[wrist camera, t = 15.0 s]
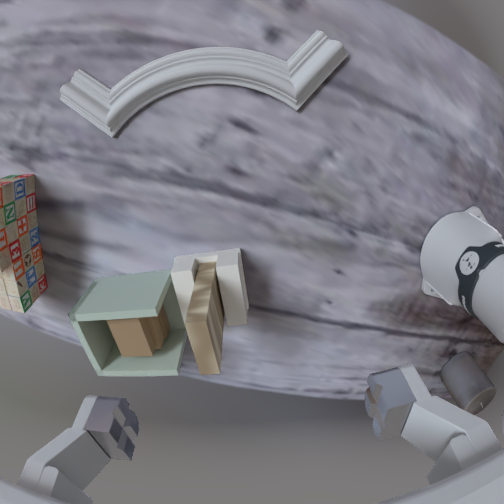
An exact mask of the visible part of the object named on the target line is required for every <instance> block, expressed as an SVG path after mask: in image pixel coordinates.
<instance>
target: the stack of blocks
mask: <svg viewBox="0 0 504 504" xmlns="http://www.w3.org/2000/svg"><path fill="white" fill-rule="evenodd" d="M47 288H48V287H47V282H46V277H45V270H44V264H43V259H42V251H41V244H40V238H39V230H38V222H37V212H36V196H35V175H34V174H31V175H10V176H7V177H4V178H2V179H0V306H1V308H4V309H8V310H11V311H12V310H13V311H16V312H21V313H25V312H26V311H27V310H28V309H29V308H30V307H31V306H32V304H33V303H34V302H35V301H36V300H37V298H38V297H39V296H40V295H41V294H42V293H43V292H44V291H45V290H46V289H47Z"/></svg>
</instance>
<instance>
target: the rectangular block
mask: <svg viewBox="0 0 504 504" xmlns="http://www.w3.org/2000/svg"><path fill="white" fill-rule="evenodd" d="M224 313H225V311H224V306H223V302H222V297H221V292H220V287H219V282H218V277H217V272H216V261H215V262H207V263H200V265H199V269H198V273H197V276H196V280H195V284H194V288H193V291H192V295H191V299H190V303H189V307H188V311H187V315H186V319H185V323H184V324H185V327H186V330H187V334H188V337H189V340H190V343H191V347H192V350H193V353H194V356H195V359H196V362H197V365H198V368H199V371H200V374H201V375H208V374H220V368H221V353H222V339H223V326H224Z"/></svg>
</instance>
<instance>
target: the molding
mask: <svg viewBox="0 0 504 504" xmlns="http://www.w3.org/2000/svg"><path fill="white" fill-rule="evenodd" d="M347 56H348V54H347V53H346V52H345V49H344V46H343V45H342V44H341V43H340V42H339V41H336V40H330V39H329V38H328V36H326V35H325V34H324V33H323V32H322V31H319V30H317V31H316V32H315V33H314V34H313V35H312V36H311V37H310V38H309V39H308V40H307V41H306V42H305V43H304V44H303V45H302V46H301V47H300V48H299V50H298V51H297V52H296V53H295V54H294V55H293V56H292V57H291V58H290V59H289V60H288V61H287V62H286V61H284V60H282V59H279V58H277V57H274V56H271V55H268V54H265V53H261V52H257V51H253V50H248V49H241V48H232V47H207V48H198V49H191V50H186V51H181V52H178V53H174V54H171V55H168V56H165V57H162V58H160V59H157V60H155V61H153V62H150V63H148V64H146V65H144V66H143V67H141V68H139V69H137V70H136V71H134V72H133V73H131V74H130V75H128V76H127V77H125V78H124V79H123V80H121V81H120V82H119V83H118V84H116V85H115V86H114V87H113V88H112V89H110V88H108V87H107V86H105V85H104V84H102V83H101V82H99V81H98V80H96V79H95V78H93V77H92V76H90V75H89V74H87V73H86V72H84V71H83V70H81V69H78V71H76V72H75V73H74V76H73V77H72V80H71V81H70V82H68V83H66V84H64V85H63V86H62V87H61V89H60V93H61V94H60V95H61V98H60V100H61V101H62V102H64V103H65V104H66V105H68V106H69V107H71V108H72V109H73V110H75V111H76V112H78V113H79V114H80V115H82V116H83V117H84V118H86V119H87V120H89V121H90V122H91V123H93V124H94V125H95V126H97V127H98V128H99V129H101V130H102V131H104V132H105V133H106V134H108V135H109V136H110V137H112V138H113V137H114V136H115V135H116V133H117V132H118V131H119V130H120V128H121V127H122V126H123V125H124V124H125V123H126V122H127V121H128V120H129V119H130V118H131V117H132V116H133V115H134V114H135V113H137V112H138V111H139V110H140V109H142V108H143V107H145V106H146V105H148V104H149V103H151V102H152V101H154V100H156V99H158V98H160V97H162V96H164V95H166V94H169V93H171V92H174V91H177V90H180V89H184V88H188V87H192V86H198V85H208V84H227V85H236V86H241V87H246V88H250V89H254V90H257V91H260V92H263V93H265V94H268V95H270V96H272V97H274V98H276V99H278V100H280V101H282V102H283V103H285V104H287V105H288V106H290V107H291V108H293V109H294V110H295V111H297V110H298V109H299V108H300V107H301V106H302V105H303V103H304V102H305V101H306V100H307V99H308V98H309V97H310V96H311V95H312V94H313V92H314V91H315V90H316V89H317V88H318V87H319V86H320V85H321V84H322V83H323V82H324V80H325V79H326V78H327V77H328V76H329V75H330V74H331V73H332V72H333V71H334V70H335V69H336V68H337V67H338V65H339V64H340V63H341V62H342V61H343V60H344V59H345V58H346V57H347Z"/></svg>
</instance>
